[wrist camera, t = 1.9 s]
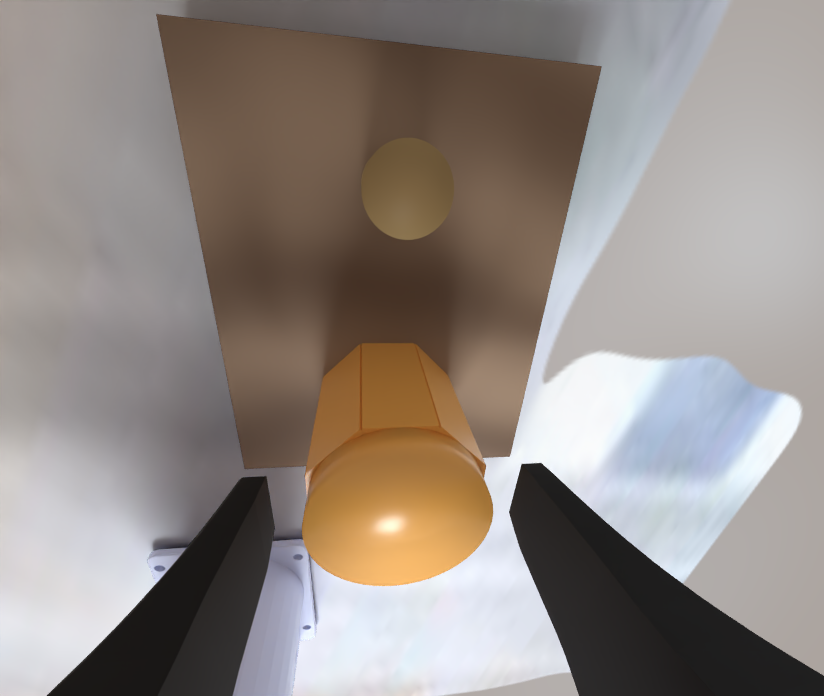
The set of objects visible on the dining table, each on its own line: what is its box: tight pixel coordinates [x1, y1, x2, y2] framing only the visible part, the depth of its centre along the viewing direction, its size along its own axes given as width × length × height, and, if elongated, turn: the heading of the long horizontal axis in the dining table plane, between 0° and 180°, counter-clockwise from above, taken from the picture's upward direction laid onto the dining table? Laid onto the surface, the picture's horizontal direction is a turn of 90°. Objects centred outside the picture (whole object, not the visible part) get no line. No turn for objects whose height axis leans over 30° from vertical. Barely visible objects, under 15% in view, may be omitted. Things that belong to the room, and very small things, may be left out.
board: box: [156, 14, 602, 469], centre depth 12 cm, size 15×12×6 cm
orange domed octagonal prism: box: [302, 343, 493, 586], centre depth 12 cm, size 5×5×6 cm
